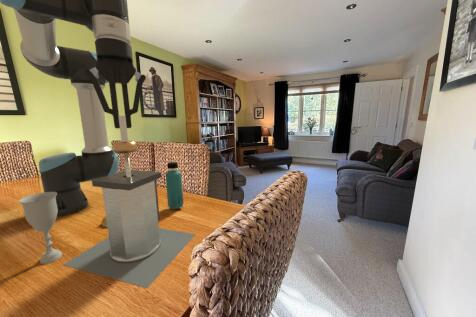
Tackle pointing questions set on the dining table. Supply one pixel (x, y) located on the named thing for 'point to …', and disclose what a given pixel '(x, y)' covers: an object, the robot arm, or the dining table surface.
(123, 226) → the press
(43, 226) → the chalice
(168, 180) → the beverage bottle
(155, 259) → the slate mat
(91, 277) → the dining table surface
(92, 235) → the dining table surface
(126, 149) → the plunger
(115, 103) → the robot arm
